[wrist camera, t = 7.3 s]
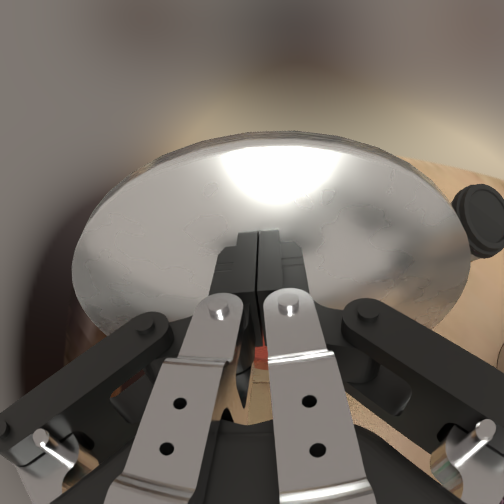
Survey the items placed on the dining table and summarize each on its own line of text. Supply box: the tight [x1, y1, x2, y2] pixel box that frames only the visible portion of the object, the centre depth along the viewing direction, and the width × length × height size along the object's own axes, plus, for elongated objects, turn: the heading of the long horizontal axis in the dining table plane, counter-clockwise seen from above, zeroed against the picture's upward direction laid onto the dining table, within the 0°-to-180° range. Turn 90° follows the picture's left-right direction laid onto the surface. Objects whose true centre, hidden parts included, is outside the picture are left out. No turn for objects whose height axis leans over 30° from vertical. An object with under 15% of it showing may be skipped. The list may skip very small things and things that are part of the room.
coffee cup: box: [450, 184, 504, 262], centre depth 32 cm, size 8×8×15 cm
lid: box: [72, 131, 471, 383], centre depth 17 cm, size 23×24×3 cm
